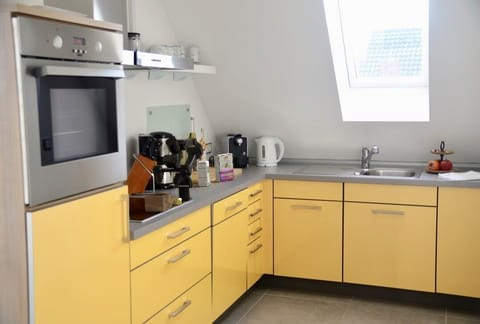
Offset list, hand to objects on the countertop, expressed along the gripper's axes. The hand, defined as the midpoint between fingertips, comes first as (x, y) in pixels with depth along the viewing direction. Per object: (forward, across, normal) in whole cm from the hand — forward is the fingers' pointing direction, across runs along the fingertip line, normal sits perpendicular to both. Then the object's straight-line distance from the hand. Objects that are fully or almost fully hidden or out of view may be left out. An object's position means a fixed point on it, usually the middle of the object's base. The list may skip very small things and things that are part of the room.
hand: (168, 184), depth 283 cm
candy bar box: (-55, +2, +65) cm, 86 cm away
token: (+1, 0, +15) cm, 15 cm away
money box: (+10, -5, +7) cm, 13 cm away
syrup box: (-42, -5, +53) cm, 68 cm away
